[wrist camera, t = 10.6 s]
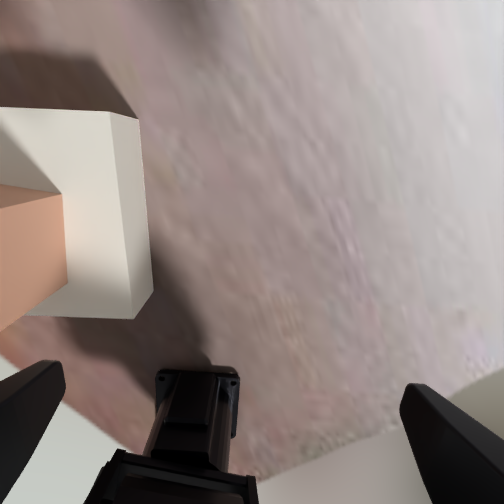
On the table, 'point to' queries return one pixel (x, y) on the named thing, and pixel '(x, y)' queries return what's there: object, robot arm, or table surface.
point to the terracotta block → (29, 250)
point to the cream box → (86, 203)
